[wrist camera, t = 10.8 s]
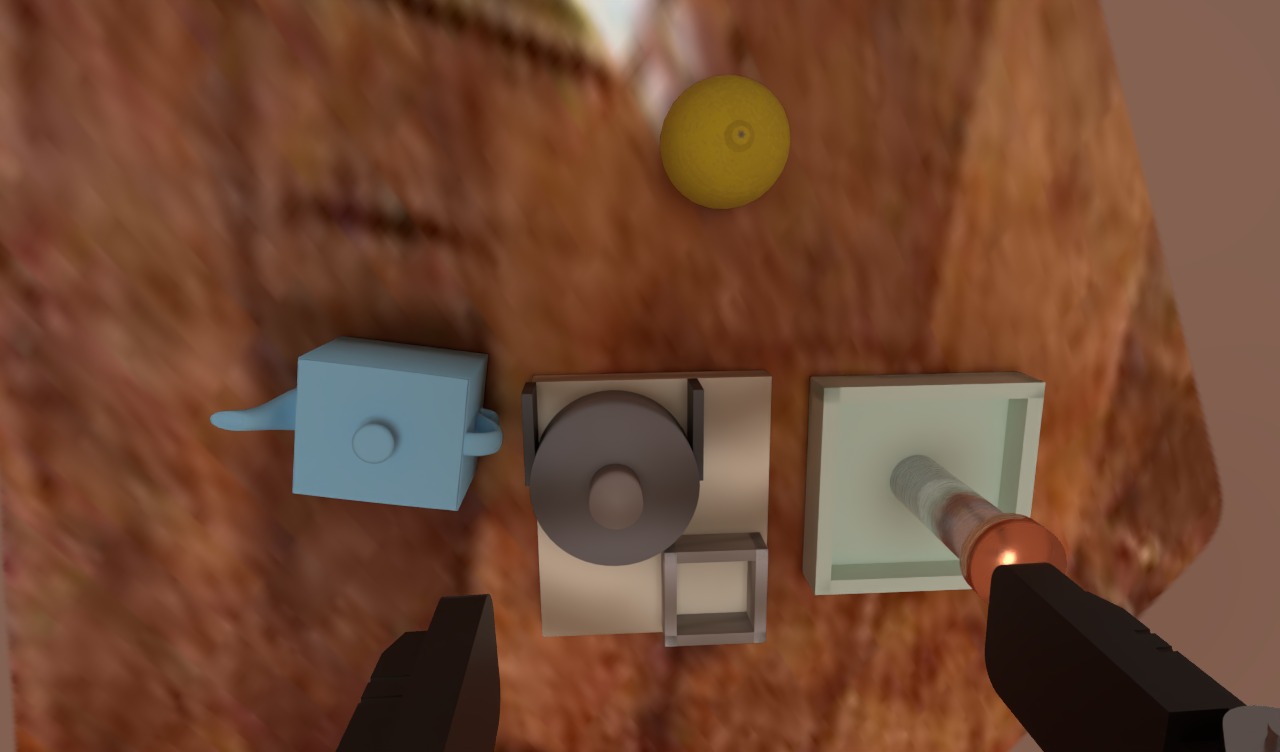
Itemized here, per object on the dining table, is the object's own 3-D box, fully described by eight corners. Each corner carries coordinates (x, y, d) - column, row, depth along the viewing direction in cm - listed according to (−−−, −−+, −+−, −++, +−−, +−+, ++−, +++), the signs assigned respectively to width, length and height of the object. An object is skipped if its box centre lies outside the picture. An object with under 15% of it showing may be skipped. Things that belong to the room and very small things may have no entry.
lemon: (788, 158, 36) (840, 144, 29) (701, 232, 37) (729, 238, 29) (718, 65, 35) (753, 24, 27) (629, 143, 36) (639, 125, 28)
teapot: (274, 439, 38) (197, 494, 31) (278, 323, 37) (199, 352, 30) (508, 466, 39) (488, 525, 32) (520, 354, 38) (502, 389, 31)
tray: (810, 376, 39) (824, 387, 36) (1017, 371, 39) (1045, 382, 37) (802, 572, 41) (815, 595, 39) (997, 565, 42) (1022, 586, 40)
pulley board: (528, 375, 38) (515, 408, 32) (765, 370, 39) (798, 402, 32) (539, 621, 41) (529, 697, 35) (758, 612, 42) (787, 685, 35)
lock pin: (882, 447, 39) (977, 526, 29) (953, 445, 39) (1071, 523, 29) (879, 514, 40) (969, 614, 30) (948, 512, 40) (1061, 610, 30)
